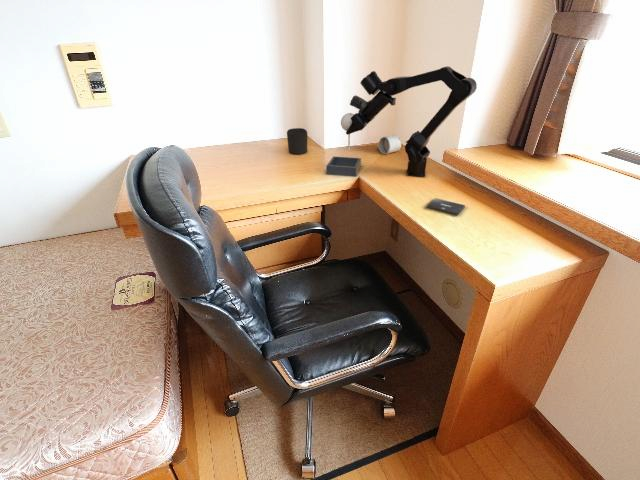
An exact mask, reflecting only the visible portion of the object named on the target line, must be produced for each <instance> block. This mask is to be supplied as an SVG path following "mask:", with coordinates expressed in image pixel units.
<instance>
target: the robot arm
mask: <svg viewBox="0 0 640 480" xmlns="http://www.w3.org/2000/svg"><path fill="white" fill-rule="evenodd" d="M440 81H442V82H443V83H444V85H445V86H446V87H447V88H449V90H451V91H450V93H449V94H448V97H447V99H446V101H445V102H444V103H443V104H442V106H441V107H440V108H439V109H438V110H437V112H436V113H435V115H433V117H432V118H431V119H430V121H428V122H427V124H426V125H425V126H424V128H422V130H421V131H419V130H417V131H415V132H414V133H412V134H411V135H410V137H409V139H408V140H406V141H405V145H404V151H405V153H406V155H407V158H408V160H407V168H406V173H407V176H409V177H419V178H420V177H422V178H425V177H426V168H427V161H428V157H429V156H430V155H431V151H430V149H429V148H428V147H427V145H428V143H429V141H430V139H431V137H432V136H433V135H434V133H436V132H437V130H438V129H439V127H441V125H442V124H444V122H445V121H446V120H447V119H448V117H450V115H451V114H452V113H453V112H454V110H456V108H457V107H459V105H461V104H462V103H464V101H466V100H467V99H468V98H469V97H471V96H472V95H473V94H474V93H476V90H477V81H476V80H475V79H474V78H472V77H467V76H465V75H463V74H462V73H460V72H458V71H456V70H455V69H453V68H452V67H451V66H448V65H447V66H443V67H441V68H439V69H434V70H430V71H427V72H423V73H420V74H416V75H412V76H396V77H392V78H389V79H388V80H385V81H382V79H381V78H380V77H379V76H378V74H377V72H376V70H373V71H371V72H370V73H369V74H367V75H366V76H364V77H363V78H362V79H361V80H360V85H361V86H362V88H363V89H364V90H365V92H366V93H367V94H368V95H369V96H371V95H372V96H373V97H372V98H371V99H370V100H368V101H367V100H365V99H364V98H362V97H360V96H358V95H353V96H352V98H351V100H350V102H349V105H350V106H351V107H354V108H355V109H357V110H358V112H356V113H353V114H354V115H353V116H352V117H351V120H352V124H351V125H350V127H349V128H348V130H347V131H345V134H346V135H347V136H348V134H350V135H351V134H353V133H356V132H359V131H363V129H365V128H366V127H367V125H368V124H369V123H371V122H372V121H373V120H374V119H375V118H376V117H377V116H378V115H379V113H381V111H382V110H384V109H385V108H386V107H387V106H388V105H389V104H390V106H396V100H397V97H393V96H396V95H398V94H402V93H404V92H406V91H407V90H410V89H412V88H415V87H420V86H423V85H427V84H432V83H436V82H440Z"/></svg>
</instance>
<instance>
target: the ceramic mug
mask: <svg viewBox="0 0 640 480" xmlns="http://www.w3.org/2000/svg"><path fill="white" fill-rule="evenodd" d="M401 147H402V140H401V138H400V136H398V135H389V136H382V137H381V138H380V139H379V141H378V146H377V150H379V151H380V153H381V154H383V155H387V154H391V153H396V152H398V151H400V149H401Z"/></svg>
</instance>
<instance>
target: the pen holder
mask: <svg viewBox="0 0 640 480" xmlns="http://www.w3.org/2000/svg"><path fill="white" fill-rule="evenodd" d="M286 136H287V137H286V138H287V147H288V153H289V154H290V155H296V156H299V155H304V154H306V153H307V152H308V131H307V130H306V129H305V128H303V127H294V128H290V129H288V130H287V131H286Z"/></svg>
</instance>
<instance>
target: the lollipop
mask: <svg viewBox="0 0 640 480" xmlns="http://www.w3.org/2000/svg"><path fill="white" fill-rule="evenodd" d="M354 114H355V113H352V112H347V113H345V114H343V116H342V117H341V119H340V126H341V128H342V130H344V131H345V132H346V131H347V130H348V128H349V127H350V125H351V124H352V120H351V117H352V116H353V115H354ZM347 137H348V138H347V139H348V141H347V151H350V150H351V134H348V135H347Z"/></svg>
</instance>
